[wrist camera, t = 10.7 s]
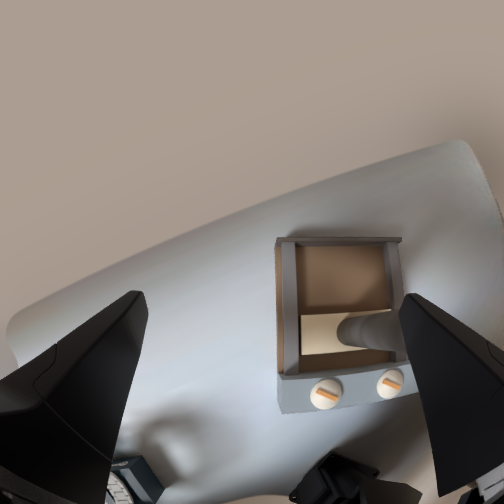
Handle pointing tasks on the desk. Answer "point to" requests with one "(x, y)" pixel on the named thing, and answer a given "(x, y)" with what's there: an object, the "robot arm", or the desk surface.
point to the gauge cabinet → (344, 387)
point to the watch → (132, 483)
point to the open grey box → (333, 293)
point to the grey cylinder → (351, 332)
